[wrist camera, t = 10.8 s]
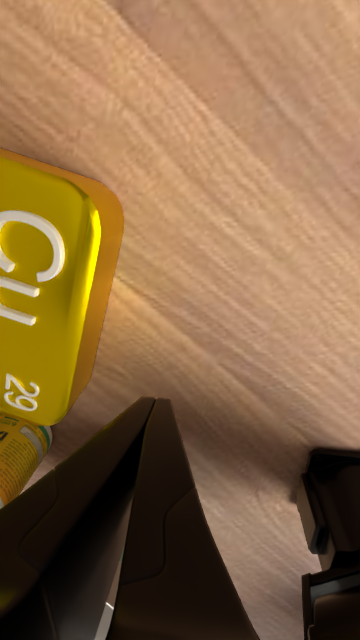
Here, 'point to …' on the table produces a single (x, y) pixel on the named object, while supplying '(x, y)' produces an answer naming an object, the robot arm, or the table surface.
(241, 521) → the table surface
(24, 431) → the supplement bottle
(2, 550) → the robot arm
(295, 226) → the table surface
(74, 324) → the element tile
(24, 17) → the table surface
